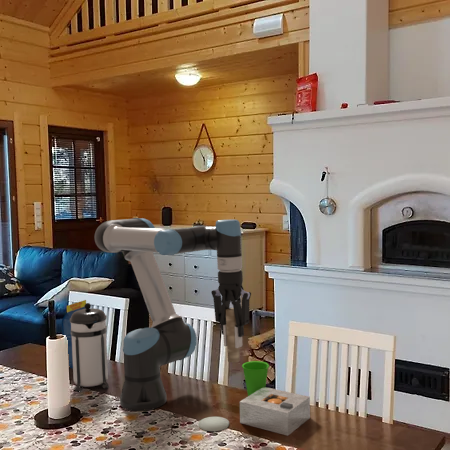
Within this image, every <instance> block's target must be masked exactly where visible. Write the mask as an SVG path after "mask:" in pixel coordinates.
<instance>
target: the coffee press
mask: <svg viewBox="0 0 450 450" xmlns="http://www.w3.org/2000/svg"><path fill="white" fill-rule="evenodd" d="M84 307H85V308H86V309H82V310H78V311H76V312H74V313H73V314H72V316H71V318H70V323H71V335H72V356H73V368H72V371H73V372H72V374H73V382H74V384H75V385H76V386H75V392H76V393H80V392H81V391H82V389H83V388H84V387H85V388H86V387H88V388H89V387H95V386H101V387H102V389H104V390H106V389H108V388H109V383H108V378H109V369H108V368H109V366H108V345H107V329H108V328H107V323H106V322H107V319H108V316H107V315H106V314H105V312H104V311H103V310H102V309H99V308H91V307H92V304H91V303H90V302H86V304H85V306H84ZM79 391H80V392H79Z"/></svg>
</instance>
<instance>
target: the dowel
mask: <svg viewBox="0 0 450 450" xmlns="http://www.w3.org/2000/svg"><path fill="white" fill-rule="evenodd" d="M235 325H237V324H236V319H235V313H234V308H233V307H229V308H228V309H226V329H227V346H226V347H227V348H226V349H227V362H229V363H238V362H240V347H239V348H235Z"/></svg>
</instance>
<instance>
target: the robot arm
mask: <svg viewBox="0 0 450 450" xmlns="http://www.w3.org/2000/svg"><path fill="white" fill-rule="evenodd" d="M94 242H95V245H96V246H97V248H98V249H99V250H101V251H103V252H104V253H105V252H106V253H113V254H114V253H115V254H116V253H122V254H123V255H122V256H123V257H124V259H125V260H126V261H128V262H130V264H131V267H132V270H133V272H134V275H135V277H136V280H137V282H138V283H137V284H138V286H139V288H140V292H141V294H142V296H143V300H144V302H145V305H146V308H147V311H148V314H149V316H150V320H151V321H152V325H151V327H144V328H143V327H142V328H138V329H134V330H132V331H130V332H128V333H126V335H124V338H123V344H122V352H123V369H124V370H123V371H124V372H123V373H124V381H123V386H122V389H121V393H120V397H119V403H120V406H121V407H122V408H123V409H125V410H128V411H137V412H142V411H149V410H154V409H157V408H160V407H162V406H164V405H165V404H166V402H167V392H166V390H165V388H164V384H163V381H162V378H161V367H162V366H165V365H168V364H171V363H174V362H178V361H182V360H184V359H186V358H189V357H190V356H192V354H194V352H195V351H196V346H197V341H198V339H197V333H196V331H195V328H194V327H193V326H192V325H191V324H190V323H187V322H184V319H183V316H182V315H179V314H177V313H176V310H175V308H174V305H173V303H172V300H171V296H170V295H169V292H168V289H167V286H166V284H165V281H164V279H163V276H162V273H161V271H160V268H159V266H158V263H157V260H156V257H155V256H154V255H155V254H154V253H159V255H162V256H174V255H178V254H179V255H180V254H184V253H191V252H192V253H193V252H200V251H216V258H217V270H218V271H217V282H218V284H219V285H218V288H216V289H213V290H211V295H212V298H213V306H214V319H215V322H216V323H219V324H220V325H221V328H220V329H221V335H223V347H227V329H226V309H228V308H231V307H230V306H231V305H232V308H234V313H235V319H236V324H237V325H235V348H239V349H240V348H241V347H243V337H244V336H245V331H244V330H245V327H244V326H245V325H248V324H249V323H250V300H251V296H252V292H251V291H246V290H244V287H243V282H244V281H243V280H244V278H243V270H242V269H243V255H242V229H241V223H240V221H239V220H238V219H219V220H216V221H215V226H214V225H212V226H211V225H203V224H202V225H195V226H192V227H185V228H183V227H181V228H156V227H155V225H154V224H153V223H152V222H151V221H150V220H149V219H146V218H145V217H144V218H143V217H142V218H139V217H133V218H128V219H127V218H125V219H112V220H107V221H104V222H102V223H101V224H100V225H99V226H98V227H97V228H96V230H95V233H94ZM241 298H242V299H241ZM230 303H231V304H230Z"/></svg>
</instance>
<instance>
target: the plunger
mask: <svg viewBox="0 0 450 450" xmlns="http://www.w3.org/2000/svg"><path fill="white" fill-rule="evenodd" d="M268 402H270V403H274V404H278V405H279V404H281V403H282V400H280V399H269V400H268Z"/></svg>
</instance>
